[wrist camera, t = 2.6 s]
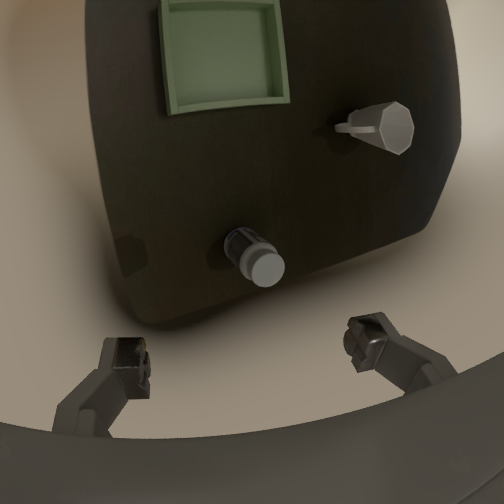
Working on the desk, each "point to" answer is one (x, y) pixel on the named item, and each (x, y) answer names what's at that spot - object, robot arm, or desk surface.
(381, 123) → the cup
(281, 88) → the sage tray
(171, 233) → the desk surface
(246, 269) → the pill bottle
